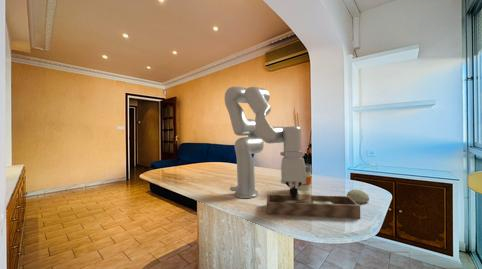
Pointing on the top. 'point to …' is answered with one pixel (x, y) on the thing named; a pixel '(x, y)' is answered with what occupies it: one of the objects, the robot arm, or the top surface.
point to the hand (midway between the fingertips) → (293, 196)
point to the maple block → (304, 197)
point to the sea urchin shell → (358, 196)
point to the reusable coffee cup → (308, 179)
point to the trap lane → (313, 206)
